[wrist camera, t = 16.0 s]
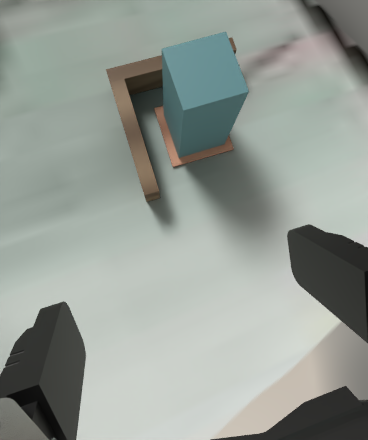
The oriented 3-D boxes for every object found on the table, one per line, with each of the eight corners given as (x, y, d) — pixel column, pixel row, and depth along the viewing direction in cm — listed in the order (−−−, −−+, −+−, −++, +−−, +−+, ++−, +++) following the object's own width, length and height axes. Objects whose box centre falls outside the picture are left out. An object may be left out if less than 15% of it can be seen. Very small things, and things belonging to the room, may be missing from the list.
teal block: (178, 158, 32) (183, 110, 22) (163, 114, 33) (161, 48, 23) (224, 144, 33) (248, 91, 23) (208, 101, 33) (225, 31, 23)
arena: (265, 166, 33) (275, 156, 30) (146, 201, 32) (144, 195, 29) (226, 57, 34) (232, 37, 31) (111, 87, 33) (106, 69, 30)
